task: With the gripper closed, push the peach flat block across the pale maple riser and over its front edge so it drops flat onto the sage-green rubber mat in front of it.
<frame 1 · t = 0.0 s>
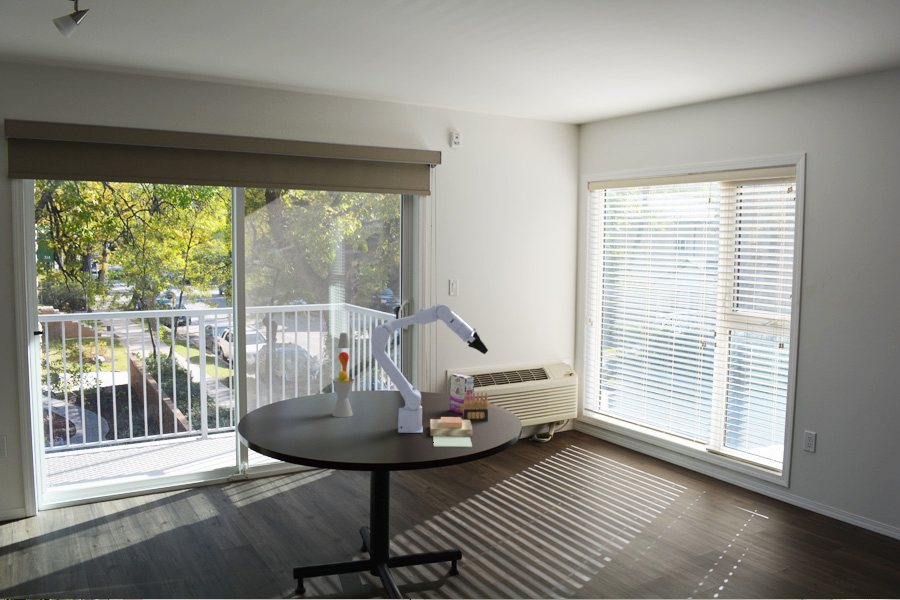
hand: (485, 350, 250), 32 cm above the table, tool tilted 50°, fingers open, 7 cm apart
ammunition clip: (475, 421, 269), on the table
riser: (450, 431, 251), on the table
mat: (452, 442, 238), on the table
peach flat block: (451, 425, 250), point 3 cm above the table, touching riser
candy bar box: (461, 412, 283), on the table
lava lamp: (342, 415, 272), on the table
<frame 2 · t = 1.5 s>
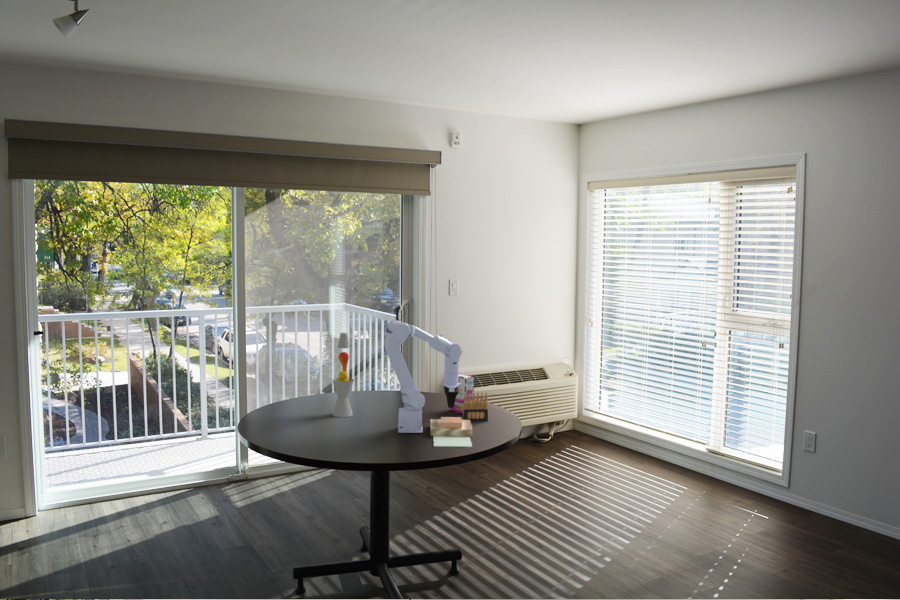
hand: (450, 405, 259), 8 cm above the table, tool pointing down, fingers open, 5 cm apart
nothing on the table moved.
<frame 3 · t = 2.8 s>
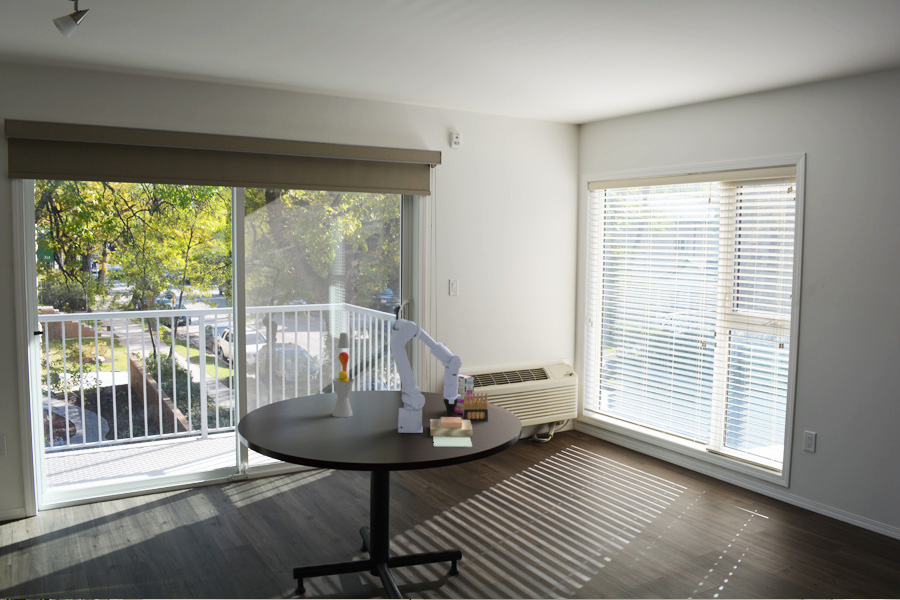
hand: (450, 417, 259), 4 cm above the table, tool pointing down, fingers closed
nothing on the table moved.
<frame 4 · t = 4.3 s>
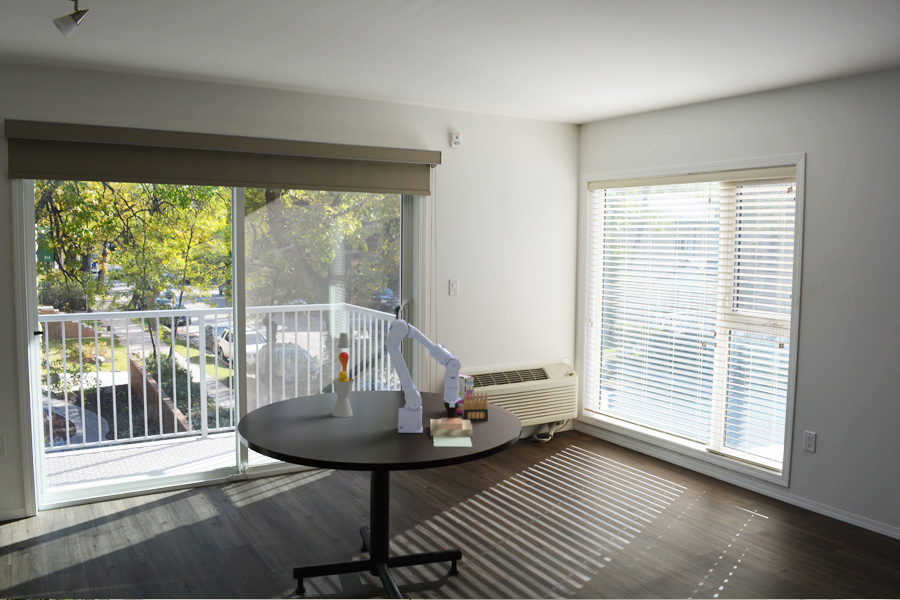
hand: (450, 421, 253), 4 cm above the table, tool pointing down, fingers closed
peach flat block: (451, 426, 248), point 3 cm above the table, touching gripper
everything else where it was.
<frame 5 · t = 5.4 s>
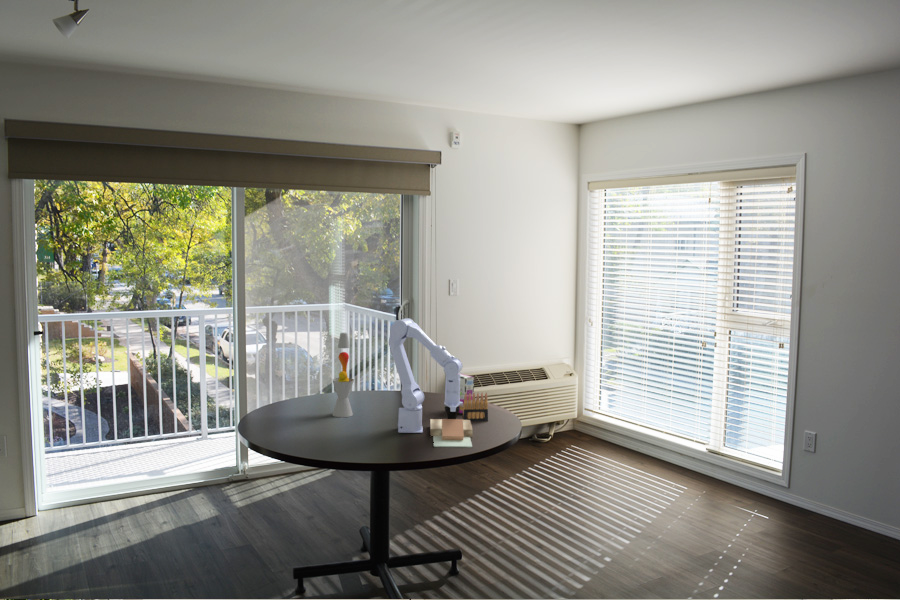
hand: (451, 425, 247), 4 cm above the table, tool pointing down, fingers closed
peach flat block: (452, 431, 243), point 3 cm above the table, tilted 36°, touching gripper
everything else where it was.
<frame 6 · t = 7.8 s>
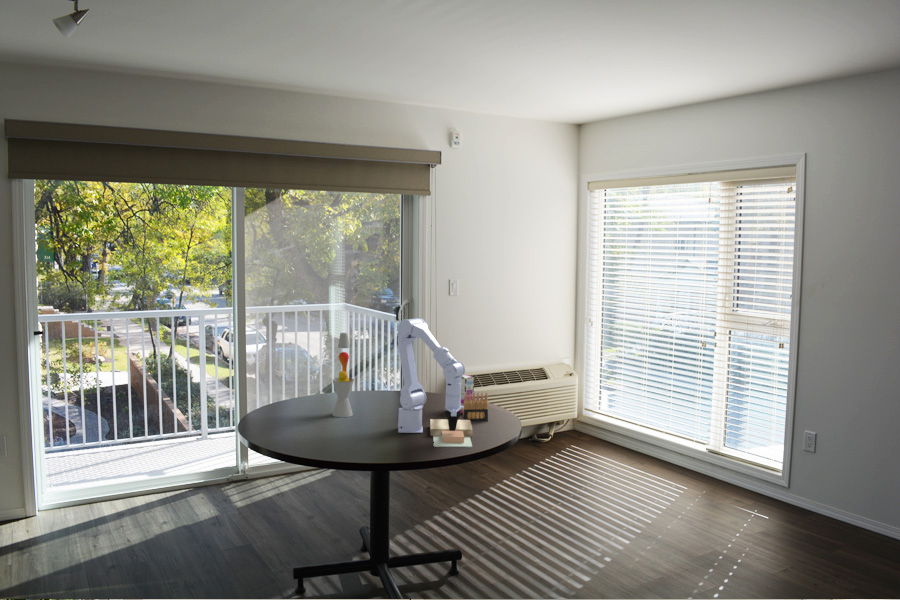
hand: (452, 430, 240), 4 cm above the table, tool pointing down, fingers closed
peach flat block: (452, 439, 240), resting on mat
everything else where it was.
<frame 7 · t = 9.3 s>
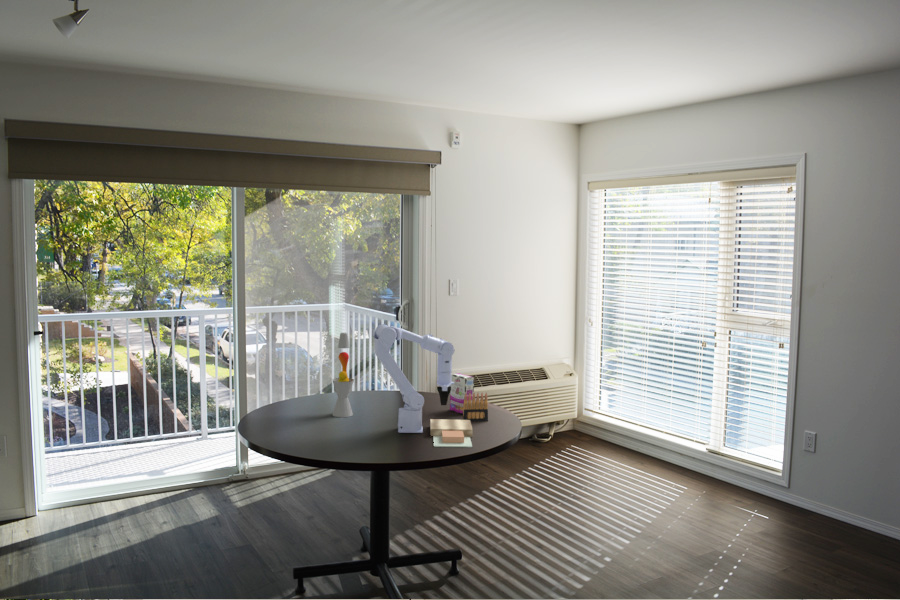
hand: (443, 404, 256), 9 cm above the table, tool pointing down, fingers closed
nothing on the table moved.
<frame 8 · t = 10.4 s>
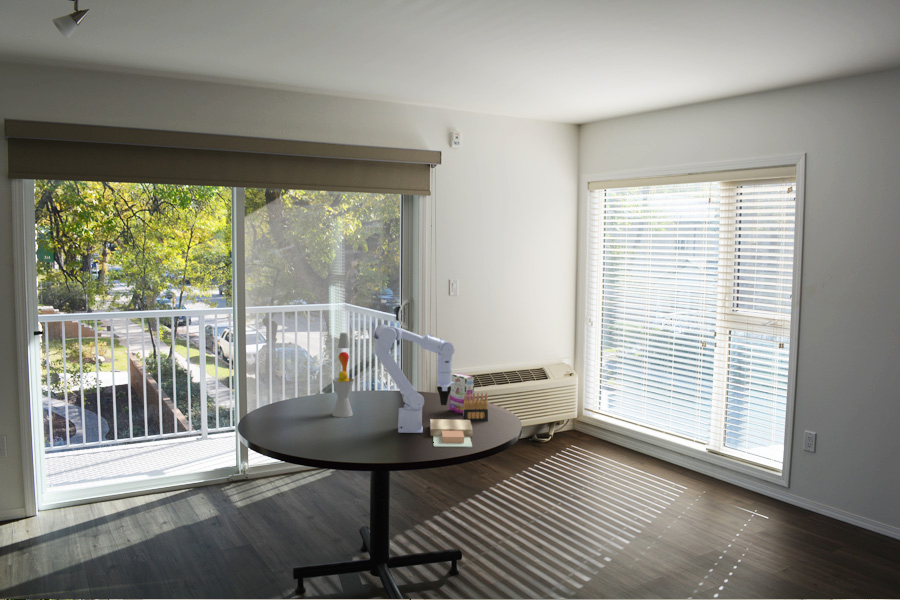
hand: (443, 404, 256), 9 cm above the table, tool pointing down, fingers closed
nothing on the table moved.
at the end: peach flat block inside the target area on the mat (2.0 cm from its centre), point 0.4 cm above the mat's base; peach flat block resting on mat; peach flat block tilted 0° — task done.
